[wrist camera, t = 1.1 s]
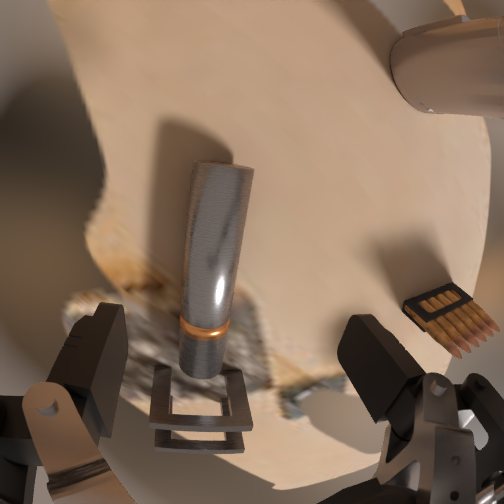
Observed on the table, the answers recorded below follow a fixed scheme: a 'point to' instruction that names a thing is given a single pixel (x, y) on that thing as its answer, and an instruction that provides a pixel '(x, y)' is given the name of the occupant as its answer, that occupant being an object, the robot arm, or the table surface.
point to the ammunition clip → (450, 318)
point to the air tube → (211, 263)
